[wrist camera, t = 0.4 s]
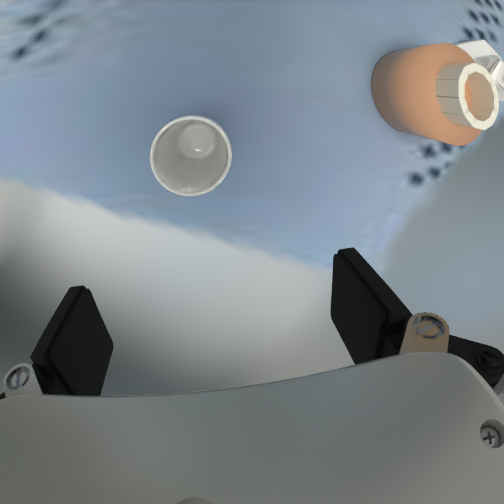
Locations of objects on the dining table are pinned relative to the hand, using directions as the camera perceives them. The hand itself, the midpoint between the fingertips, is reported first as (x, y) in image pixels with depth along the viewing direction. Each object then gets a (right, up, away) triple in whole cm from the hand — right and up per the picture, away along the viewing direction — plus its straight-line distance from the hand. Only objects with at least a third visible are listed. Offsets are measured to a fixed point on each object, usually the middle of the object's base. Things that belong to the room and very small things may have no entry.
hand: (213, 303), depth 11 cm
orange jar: (+24, +25, +25) cm, 43 cm away
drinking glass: (-5, +16, +25) cm, 31 cm away
